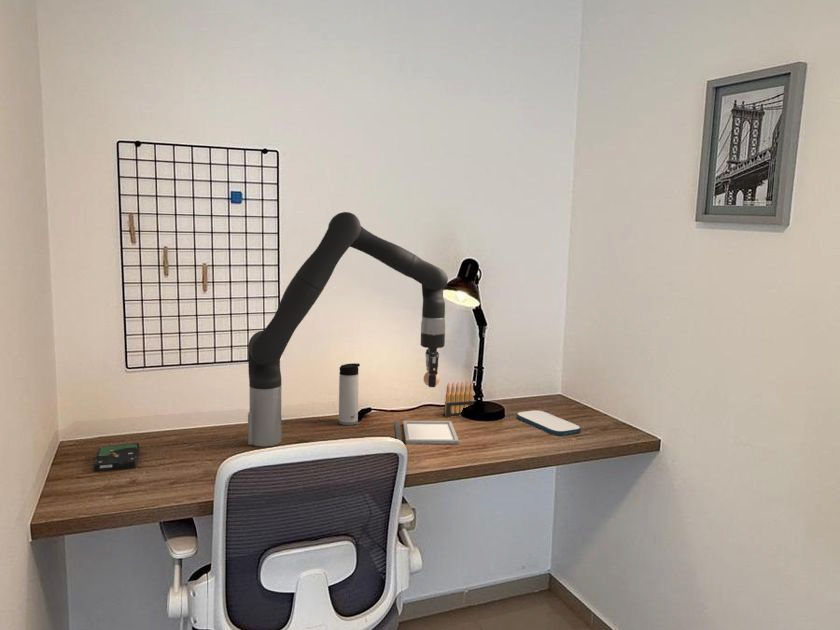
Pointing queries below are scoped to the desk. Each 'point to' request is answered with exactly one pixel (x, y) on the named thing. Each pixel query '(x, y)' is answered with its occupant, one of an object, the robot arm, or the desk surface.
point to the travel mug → (348, 394)
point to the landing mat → (427, 432)
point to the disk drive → (117, 457)
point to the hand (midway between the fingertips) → (431, 384)
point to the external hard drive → (548, 422)
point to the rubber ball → (426, 378)
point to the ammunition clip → (458, 399)
